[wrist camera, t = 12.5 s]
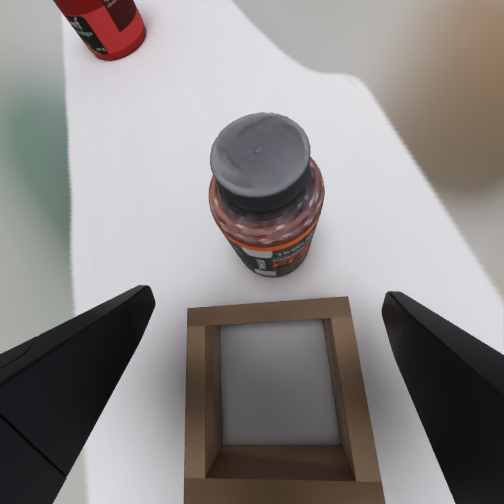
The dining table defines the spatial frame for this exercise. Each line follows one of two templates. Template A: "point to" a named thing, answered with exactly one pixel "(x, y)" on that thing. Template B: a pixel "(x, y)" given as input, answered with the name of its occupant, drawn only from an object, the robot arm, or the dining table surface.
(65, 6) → the canned food
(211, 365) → the walnut socket holder
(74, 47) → the dining table surface
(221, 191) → the supplement bottle
